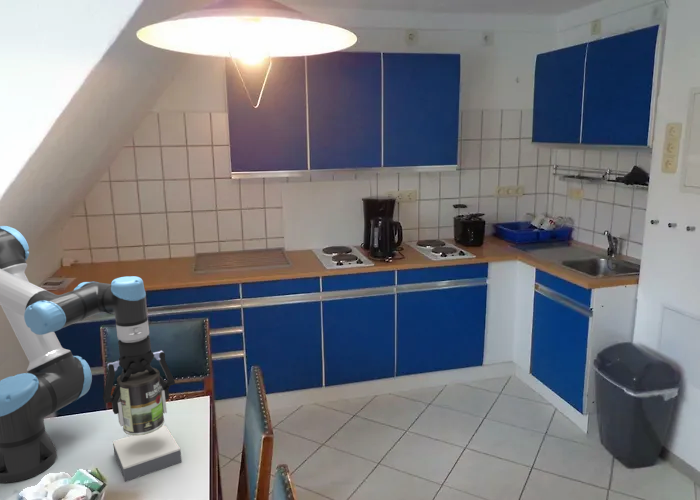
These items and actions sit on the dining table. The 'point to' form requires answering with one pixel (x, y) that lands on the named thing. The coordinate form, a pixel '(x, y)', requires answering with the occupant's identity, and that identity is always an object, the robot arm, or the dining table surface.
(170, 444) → the plinth
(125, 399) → the coffee can
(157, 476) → the dining table surface
